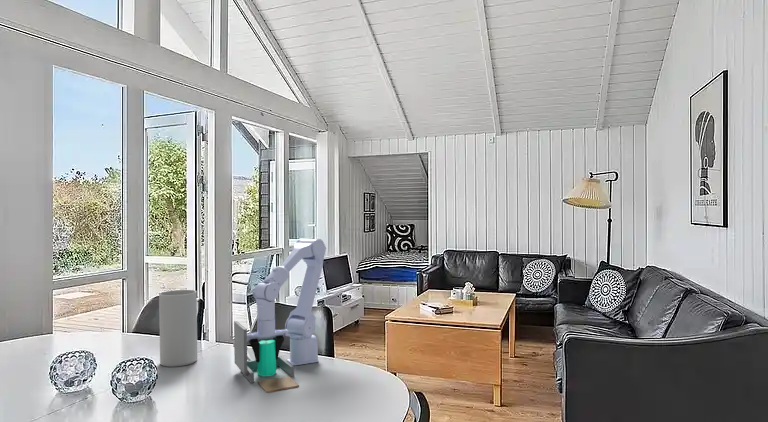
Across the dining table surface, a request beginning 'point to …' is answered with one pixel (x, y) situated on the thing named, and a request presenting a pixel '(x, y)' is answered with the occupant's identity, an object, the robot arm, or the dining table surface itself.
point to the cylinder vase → (178, 327)
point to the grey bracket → (242, 357)
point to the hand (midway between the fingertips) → (266, 360)
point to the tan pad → (278, 384)
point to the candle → (267, 358)
